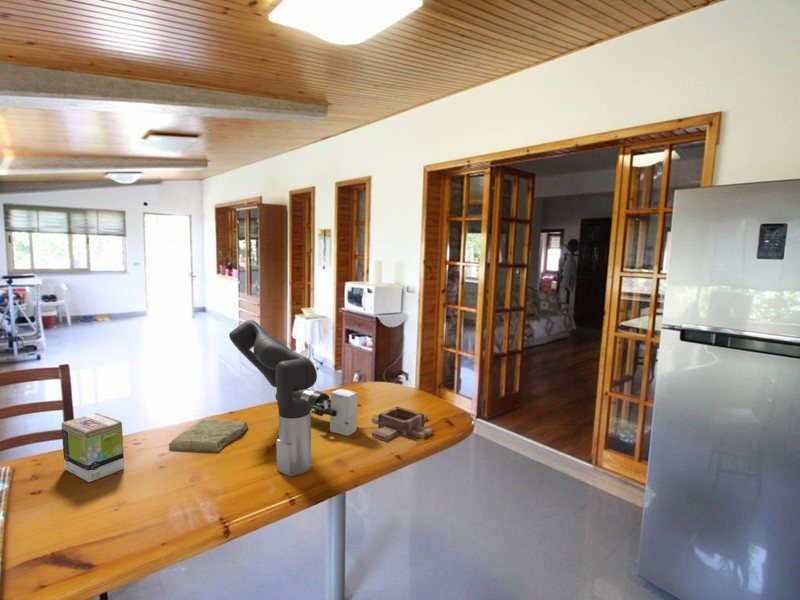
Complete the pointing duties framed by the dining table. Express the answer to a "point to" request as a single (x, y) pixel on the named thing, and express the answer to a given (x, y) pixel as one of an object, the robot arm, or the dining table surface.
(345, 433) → the skincare box
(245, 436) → the dining table surface
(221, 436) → the decorative tile
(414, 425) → the cross stand
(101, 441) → the tea box
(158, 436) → the dining table surface
